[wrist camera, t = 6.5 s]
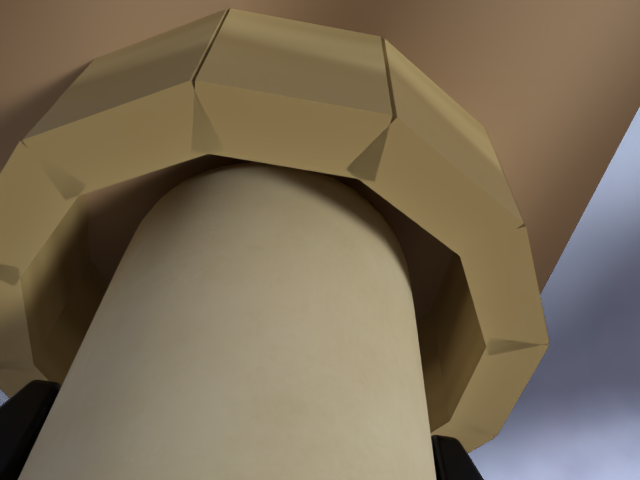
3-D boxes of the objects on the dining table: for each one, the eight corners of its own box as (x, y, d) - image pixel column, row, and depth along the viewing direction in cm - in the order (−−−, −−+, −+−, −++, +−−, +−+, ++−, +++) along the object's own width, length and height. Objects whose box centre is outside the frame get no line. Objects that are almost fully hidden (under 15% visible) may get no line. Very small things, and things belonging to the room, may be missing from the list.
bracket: (691, -63, 10) (855, 10, 7) (442, 441, 18) (463, 580, 15) (-67, -222, 9) (-289, -223, 6) (33, 386, 17) (-37, 522, 14)
